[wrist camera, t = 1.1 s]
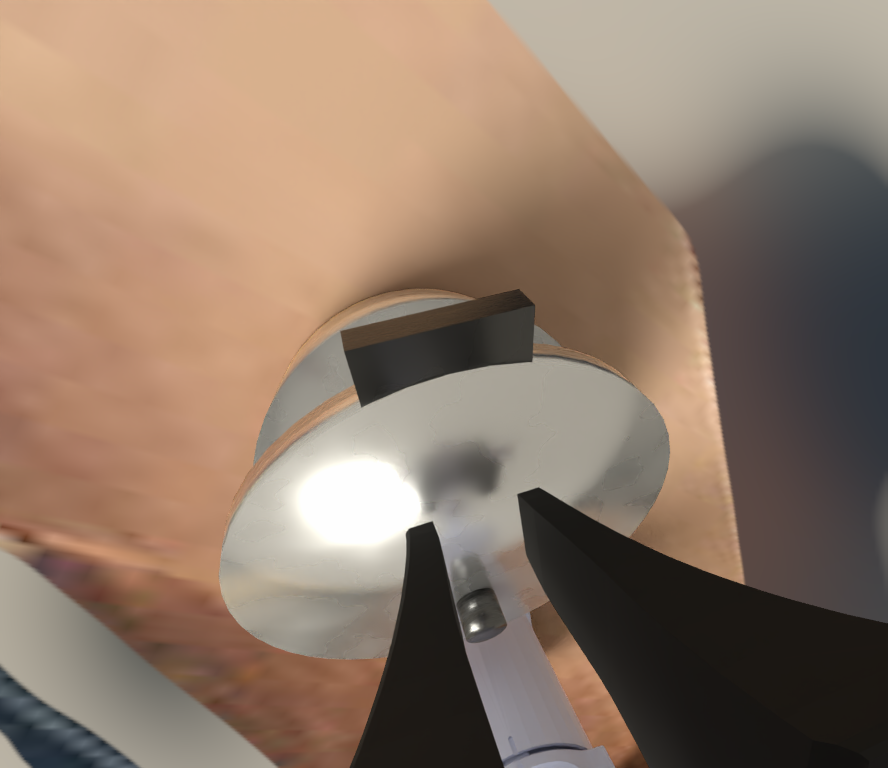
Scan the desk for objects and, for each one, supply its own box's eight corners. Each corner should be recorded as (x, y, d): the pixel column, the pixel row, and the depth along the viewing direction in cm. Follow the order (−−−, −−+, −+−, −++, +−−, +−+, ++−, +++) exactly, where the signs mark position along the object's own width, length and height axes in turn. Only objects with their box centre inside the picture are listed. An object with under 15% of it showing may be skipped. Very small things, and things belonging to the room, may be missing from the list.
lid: (613, 560, 20) (642, 605, 18) (313, 668, 18) (315, 731, 16) (717, 240, 10) (802, 275, 8) (60, 393, 8) (-3, 483, 6)
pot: (560, 513, 24) (605, 567, 20) (326, 590, 22) (323, 669, 18) (533, 259, 19) (586, 262, 15) (225, 328, 17) (188, 353, 13)
